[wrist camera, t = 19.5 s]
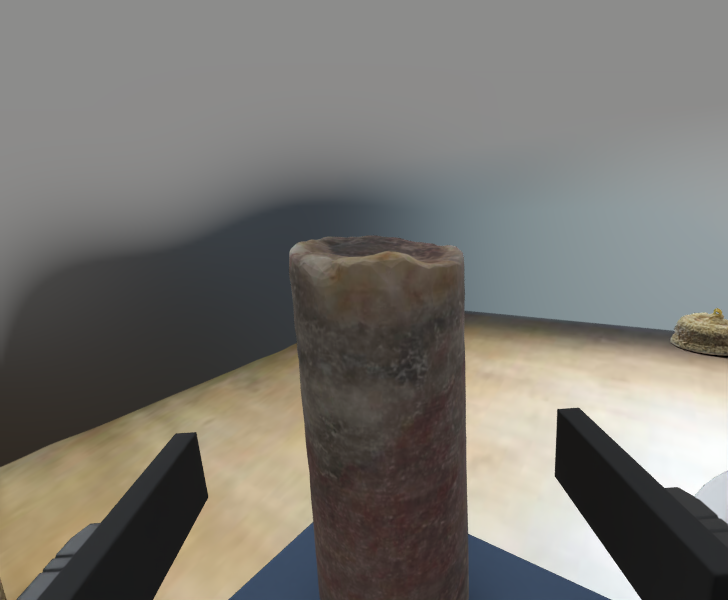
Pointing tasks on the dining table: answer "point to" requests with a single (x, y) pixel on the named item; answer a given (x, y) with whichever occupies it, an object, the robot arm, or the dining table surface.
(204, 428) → the dining table surface
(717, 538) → the robot arm
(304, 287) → the candle
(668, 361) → the dining table surface
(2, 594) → the water bottle
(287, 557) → the mat
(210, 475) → the dining table surface
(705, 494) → the soup bowl
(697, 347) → the cake
